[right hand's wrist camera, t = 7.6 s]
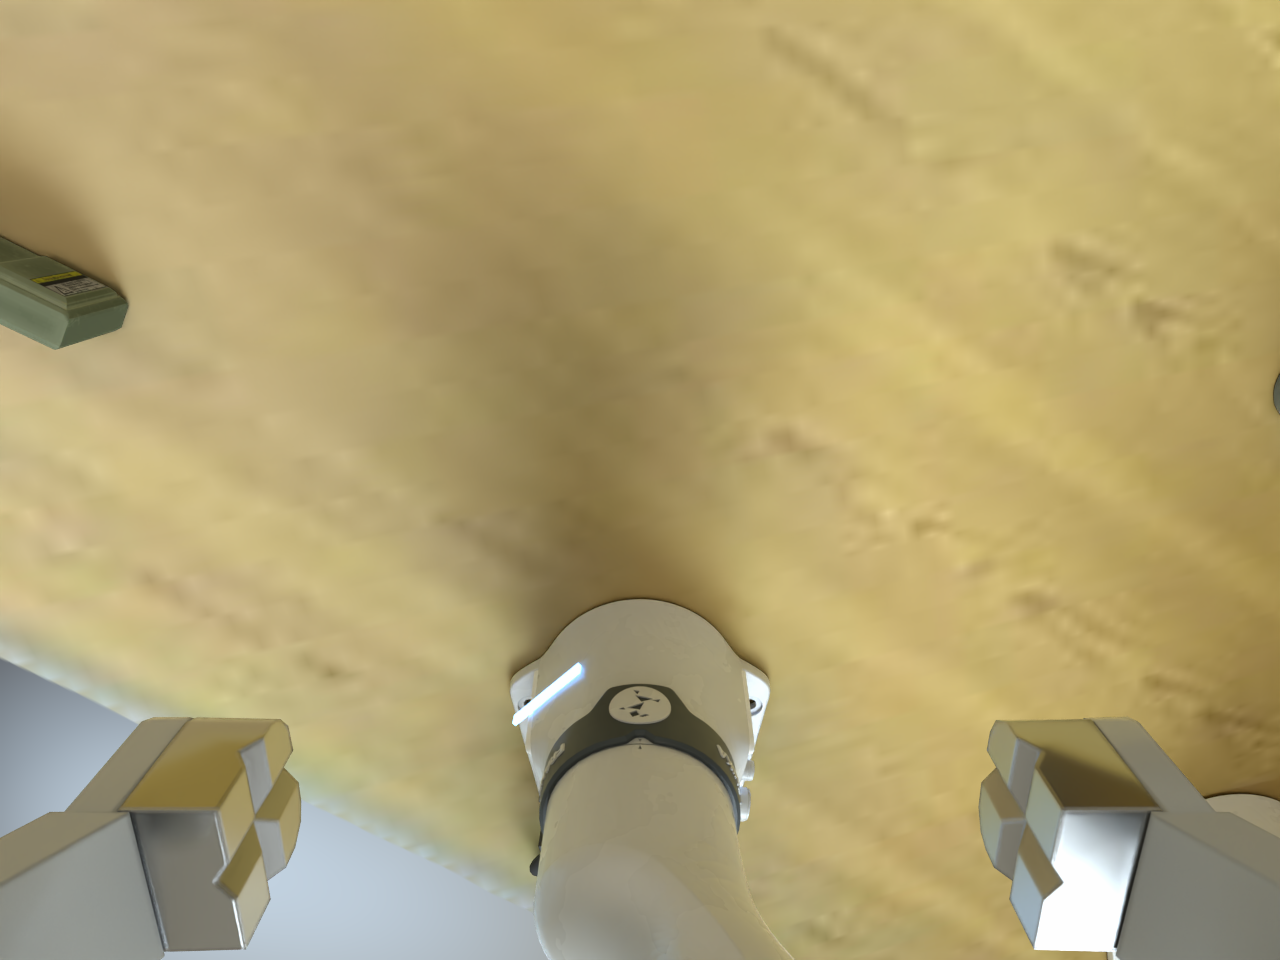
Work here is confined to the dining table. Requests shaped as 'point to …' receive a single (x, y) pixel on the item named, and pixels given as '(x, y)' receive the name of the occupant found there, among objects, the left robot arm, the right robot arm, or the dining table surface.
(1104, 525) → the dining table surface
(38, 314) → the handheld radio
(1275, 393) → the bottle
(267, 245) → the dining table surface
